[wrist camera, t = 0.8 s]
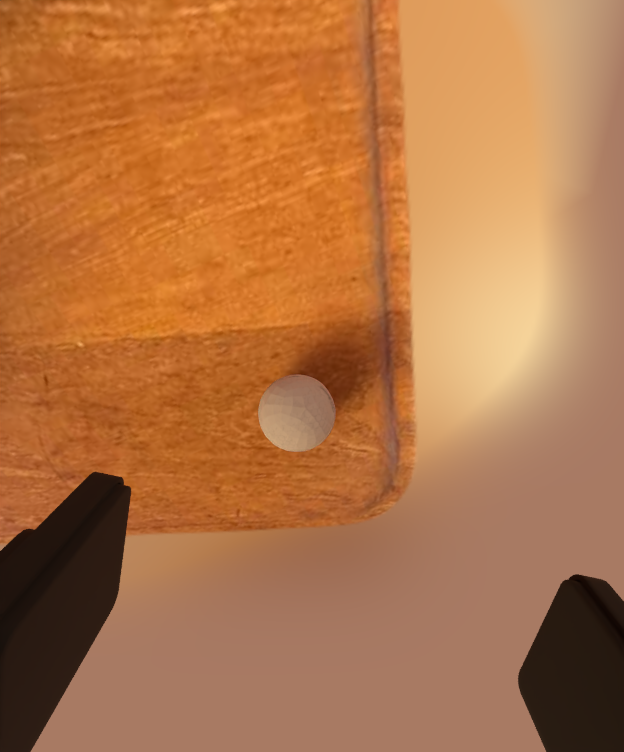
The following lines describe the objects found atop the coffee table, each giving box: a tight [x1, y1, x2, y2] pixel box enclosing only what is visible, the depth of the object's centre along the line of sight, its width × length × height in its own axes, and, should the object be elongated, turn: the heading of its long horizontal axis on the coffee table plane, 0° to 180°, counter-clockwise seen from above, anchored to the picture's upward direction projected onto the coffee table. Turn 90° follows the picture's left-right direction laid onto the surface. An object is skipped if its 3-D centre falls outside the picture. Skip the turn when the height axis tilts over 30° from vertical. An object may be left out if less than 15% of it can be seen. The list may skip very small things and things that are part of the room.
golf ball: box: [258, 374, 335, 452], centre depth 23 cm, size 4×4×4 cm
